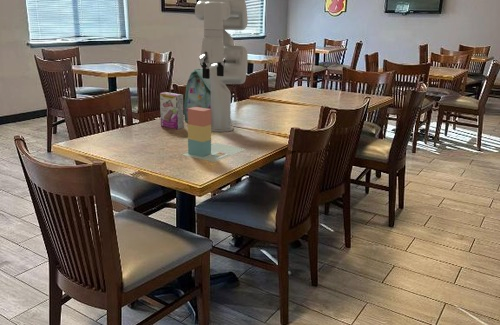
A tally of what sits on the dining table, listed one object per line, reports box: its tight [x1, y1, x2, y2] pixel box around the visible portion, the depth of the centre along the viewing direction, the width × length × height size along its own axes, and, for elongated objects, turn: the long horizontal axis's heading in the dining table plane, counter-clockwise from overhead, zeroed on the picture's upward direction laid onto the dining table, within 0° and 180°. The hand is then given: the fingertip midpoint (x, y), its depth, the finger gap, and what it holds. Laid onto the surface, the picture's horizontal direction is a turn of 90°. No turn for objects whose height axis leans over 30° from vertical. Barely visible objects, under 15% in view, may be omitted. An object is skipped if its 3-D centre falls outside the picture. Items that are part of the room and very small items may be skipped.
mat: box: [181, 142, 247, 163], centre depth 185 cm, size 16×22×1 cm
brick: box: [187, 107, 211, 127], centre depth 177 cm, size 8×5×6 cm, turn 57°
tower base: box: [187, 123, 212, 157], centre depth 180 cm, size 8×5×12 cm, turn 58°
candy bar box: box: [159, 91, 185, 130], centre depth 222 cm, size 11×5×16 cm, turn 57°
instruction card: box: [208, 152, 229, 158], centre depth 181 cm, size 6×6×1 cm
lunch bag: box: [183, 68, 227, 123], centre depth 240 cm, size 23×16×27 cm
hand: (213, 77), depth 190 cm, fingers open, 9 cm apart
